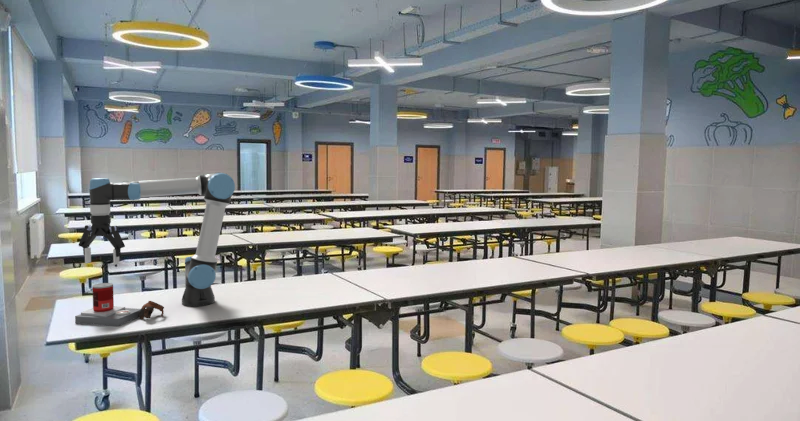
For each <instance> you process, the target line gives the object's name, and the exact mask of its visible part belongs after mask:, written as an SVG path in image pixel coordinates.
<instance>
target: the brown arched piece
mask: <svg viewBox="0 0 800 421" xmlns="http://www.w3.org/2000/svg"><path fill="white" fill-rule="evenodd" d="M140 309H141V310H140V313H139V317H138V319H140V320H144V319H150V318H151V317H152V314H153V313H154V310H155V309H156V310H158V311H160V312H161V314H160V317H163V316H164V313H165V311H164V310H165V306H163V305H161V304H159V303H157V302H155V301H152V300H148V302H146V303H145V304H143V306H141V308H140Z"/></svg>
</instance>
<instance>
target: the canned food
mask: <svg viewBox="0 0 800 421" xmlns="http://www.w3.org/2000/svg"><path fill="white" fill-rule="evenodd" d="M114 303H115V300H114V284H113V283H112V282H100V283H95V284H93V285H92V308H93V310H94V311H95V312H105V311H110V310H112V309H113V307H114Z"/></svg>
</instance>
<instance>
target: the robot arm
mask: <svg viewBox="0 0 800 421" xmlns="http://www.w3.org/2000/svg"><path fill="white" fill-rule="evenodd" d="M235 189H236V184H235V181H234V179H233V178H232V176H230V175H229V174H227V173H224V172H213V173H209V174H201V175H197V177H187V178H185V177H183V178H169V179H150V180H134V181H133V180H132V181H127V180H126V181H122V182H111V181H110V179H109V178H106V177H105V178H104V177H103V178H101V177H100V178H99V177H98V178H97V177H96V178H95V177H94V178H93V177H92V178H91V179H90V180H89V189H88V190H89V208H90V209H89V210H90V211H89V213H90V214H91V215H90V224H87V225H84V231H83V233H82V236H81V238H80V240H79V242H78V247H82V251H83V252H82V253H83V256H84V264H90V263H92V250H91V249H92V248H91V247H90V245H92V243H93V241H94V240H95V239H96V238H97V237H104V238H106V239H107V240H108V241H109V244H111V246H112V247H113V248H114V249H113V251H112V258H113V260H112V261H113V265H114V266H115V265H120V257H121V254H122V252H121V249H122V248H123V249H124V248H125V247H126V245H125V243H124V241H123V238H122V236H121V234H120V232H119V230H118V229H119V227H118V226H117V225H112V226H111V223H112V219H111V218H112V216H111V201H139V200H141V198H150V197H152V198H153V197H163V196H165V197H166V196H178V195H179V196H181V195H194V194H198V195H200V196H204V197H203V200H204V201H205V209H204V213H203V218H202V223H201V228H200V231H199V235H198V236H199V237H198V240H197V246H196V251H195V254H193V255H191V256H187V257H185V258H184V265H185V266H184V267H185V268H184V270H185V271H184V276H185V277H184V278H185V283H184V284H185V288H184V292H183V294H182V298H181V304H182V305H183V306H186V307H202V306H207V305H211V304H214V303H215V302H216V298H215V294H214V291H213V288H212V285H213V284H214V282H215V281H216V278H217V275H216V270H217V265H218V260H217V258H216V253H217V248H218V244H219V239H220V234H221V229H222V225H223V220H224V216H225V211H226V207H227V206H229V205H230V204H231V200H232V196H233V194H234V192H235V191H236V190H235ZM91 231H92V232H91Z"/></svg>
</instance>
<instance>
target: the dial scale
mask: <svg viewBox="0 0 800 421" xmlns="http://www.w3.org/2000/svg"><path fill="white" fill-rule="evenodd" d="M140 310H141V308H133V307H126V306H114V307H113V309H112V310H110V311H105V312H95V311H94V310H93V307H92V308H90V309H87V310H85V311H82V312H80V313H79V314H76V315H75V317H74V318H75V319H74V320H75V322H74V323H75V324H85V325H95V326H96V325H98V326H108V327H109V326H110V327H111V326H113V327H120V326H122V325H124V324H127V323H129V322H131V321H134V320H136V319H139V313H140Z"/></svg>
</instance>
